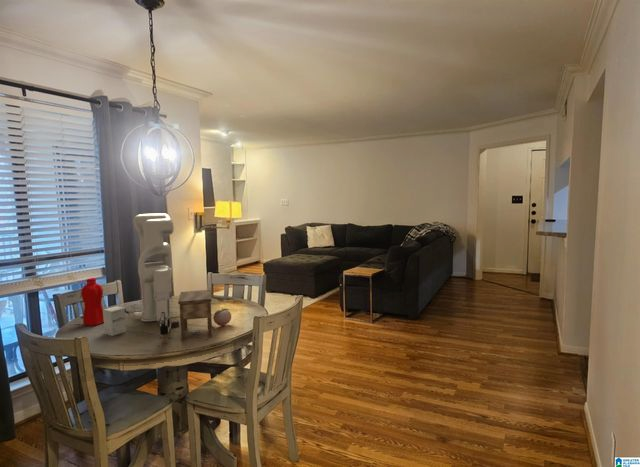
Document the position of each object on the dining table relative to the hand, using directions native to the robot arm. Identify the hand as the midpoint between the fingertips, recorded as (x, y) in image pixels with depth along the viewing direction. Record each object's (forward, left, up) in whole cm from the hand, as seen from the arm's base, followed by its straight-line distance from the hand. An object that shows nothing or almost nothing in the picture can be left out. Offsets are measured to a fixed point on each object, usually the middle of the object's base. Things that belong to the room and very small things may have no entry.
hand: (165, 330), depth 186 cm
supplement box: (-26, +21, -6) cm, 34 cm away
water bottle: (-41, +41, -6) cm, 58 cm away
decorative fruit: (+27, +13, -6) cm, 31 cm away
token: (+13, +8, -6) cm, 16 cm away
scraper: (0, +10, -5) cm, 12 cm away
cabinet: (+14, +8, -5) cm, 17 cm away
